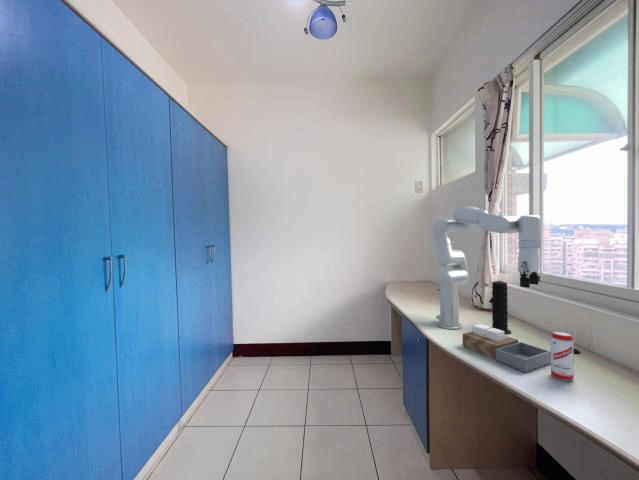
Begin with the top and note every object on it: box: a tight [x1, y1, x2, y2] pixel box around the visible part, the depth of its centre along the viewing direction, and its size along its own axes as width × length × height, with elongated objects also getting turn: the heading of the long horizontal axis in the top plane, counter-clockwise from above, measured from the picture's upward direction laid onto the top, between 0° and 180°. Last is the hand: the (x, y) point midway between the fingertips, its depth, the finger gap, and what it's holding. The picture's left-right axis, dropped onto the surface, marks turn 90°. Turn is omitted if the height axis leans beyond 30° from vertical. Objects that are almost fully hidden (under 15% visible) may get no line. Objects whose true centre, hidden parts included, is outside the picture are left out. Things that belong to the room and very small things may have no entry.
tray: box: [495, 341, 551, 374], centre depth 114 cm, size 11×16×5 cm
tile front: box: [486, 328, 505, 341], centre depth 124 cm, size 5×5×4 cm
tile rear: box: [472, 323, 492, 337], centre depth 129 cm, size 5×5×4 cm
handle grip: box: [490, 280, 512, 335], centre depth 149 cm, size 10×26×10 cm
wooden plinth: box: [462, 331, 519, 361], centre depth 126 cm, size 16×14×6 cm
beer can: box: [550, 330, 575, 382], centre depth 102 cm, size 6×6×16 cm
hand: (529, 285), depth 120 cm, fingers open, 9 cm apart
